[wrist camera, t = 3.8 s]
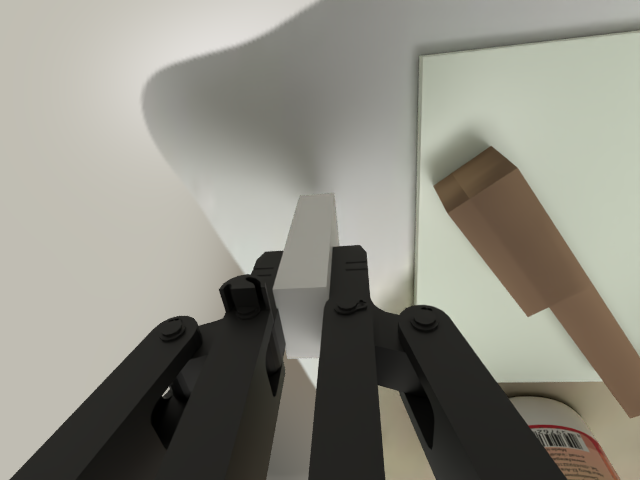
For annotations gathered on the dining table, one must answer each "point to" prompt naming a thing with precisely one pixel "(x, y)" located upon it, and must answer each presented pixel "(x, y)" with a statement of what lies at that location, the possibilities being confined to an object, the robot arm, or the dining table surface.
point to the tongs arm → (538, 265)
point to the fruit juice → (565, 438)
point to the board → (534, 187)
